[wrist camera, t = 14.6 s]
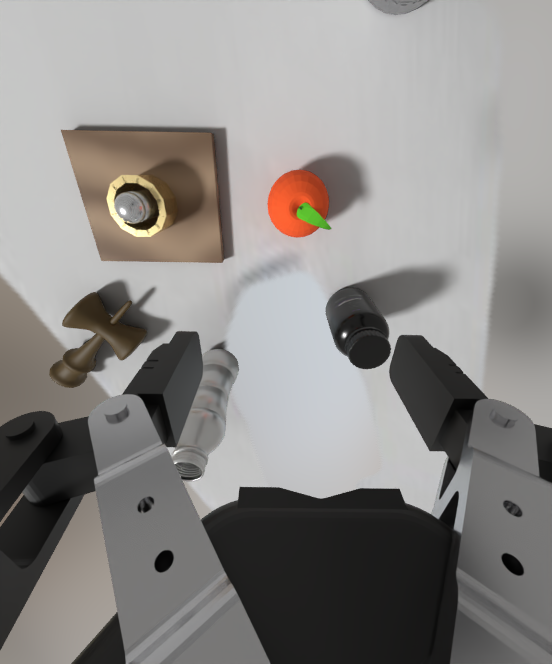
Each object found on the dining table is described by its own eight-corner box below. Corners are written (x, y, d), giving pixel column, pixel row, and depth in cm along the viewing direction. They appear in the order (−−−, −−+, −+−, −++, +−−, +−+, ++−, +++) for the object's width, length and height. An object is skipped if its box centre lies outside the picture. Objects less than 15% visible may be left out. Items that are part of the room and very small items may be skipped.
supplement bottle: (345, 277, 39) (371, 314, 28) (379, 302, 40) (415, 346, 30) (315, 312, 41) (327, 359, 31) (348, 334, 43) (370, 385, 33)
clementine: (342, 197, 33) (357, 202, 27) (310, 246, 36) (316, 260, 30) (287, 157, 31) (290, 152, 25) (258, 212, 34) (254, 220, 28)
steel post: (134, 189, 32) (104, 192, 26) (160, 189, 32) (135, 193, 26) (140, 216, 33) (112, 225, 28) (165, 217, 33) (142, 226, 28)
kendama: (50, 347, 46) (110, 268, 38) (103, 379, 49) (167, 313, 42) (22, 371, 40) (84, 285, 33) (84, 404, 44) (152, 334, 37)
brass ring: (119, 174, 31) (99, 174, 27) (172, 175, 31) (159, 175, 27) (132, 230, 34) (116, 236, 30) (181, 230, 34) (170, 236, 31)
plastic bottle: (240, 375, 48) (220, 490, 30) (202, 373, 47) (159, 488, 30) (240, 344, 44) (216, 453, 27) (198, 342, 44) (148, 451, 27)
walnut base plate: (70, 131, 30) (60, 130, 29) (213, 134, 30) (211, 132, 29) (107, 257, 37) (101, 260, 36) (224, 259, 37) (222, 262, 36)
